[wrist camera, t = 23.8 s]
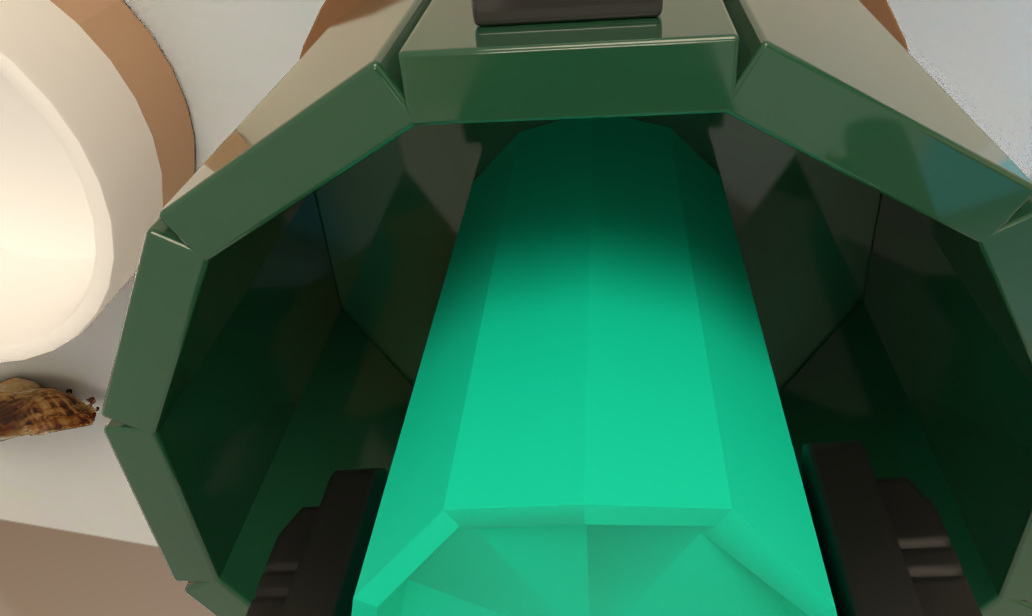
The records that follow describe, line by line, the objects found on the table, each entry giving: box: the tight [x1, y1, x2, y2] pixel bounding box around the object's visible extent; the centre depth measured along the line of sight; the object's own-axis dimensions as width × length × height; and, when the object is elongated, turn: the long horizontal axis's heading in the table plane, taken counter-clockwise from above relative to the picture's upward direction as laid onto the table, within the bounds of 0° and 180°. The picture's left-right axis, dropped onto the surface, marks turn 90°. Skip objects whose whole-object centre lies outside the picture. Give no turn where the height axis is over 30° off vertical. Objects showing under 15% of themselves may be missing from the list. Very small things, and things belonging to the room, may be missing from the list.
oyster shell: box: [0, 377, 99, 442], centre depth 49 cm, size 6×4×10 cm
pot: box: [102, 0, 1032, 616], centre depth 13 cm, size 22×14×9 cm, turn 4°
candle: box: [351, 117, 837, 616], centre depth 14 cm, size 6×6×12 cm
